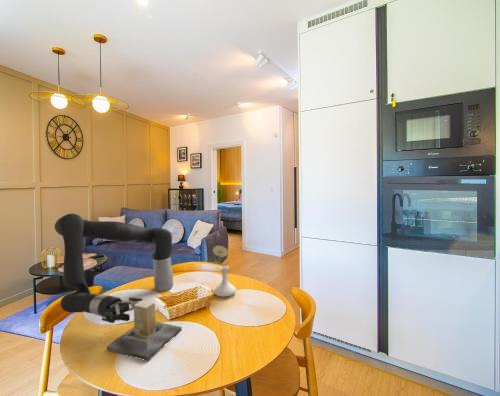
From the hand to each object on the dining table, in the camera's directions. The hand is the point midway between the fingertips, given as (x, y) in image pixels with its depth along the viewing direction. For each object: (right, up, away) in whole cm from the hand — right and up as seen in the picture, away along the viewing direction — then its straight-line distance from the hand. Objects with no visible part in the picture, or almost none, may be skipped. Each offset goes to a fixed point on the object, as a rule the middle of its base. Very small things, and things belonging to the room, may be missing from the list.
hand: (138, 312), depth 94 cm
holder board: (+3, -10, -1) cm, 11 cm away
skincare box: (+3, -9, -1) cm, 9 cm away
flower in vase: (+28, -7, +37) cm, 47 cm away
